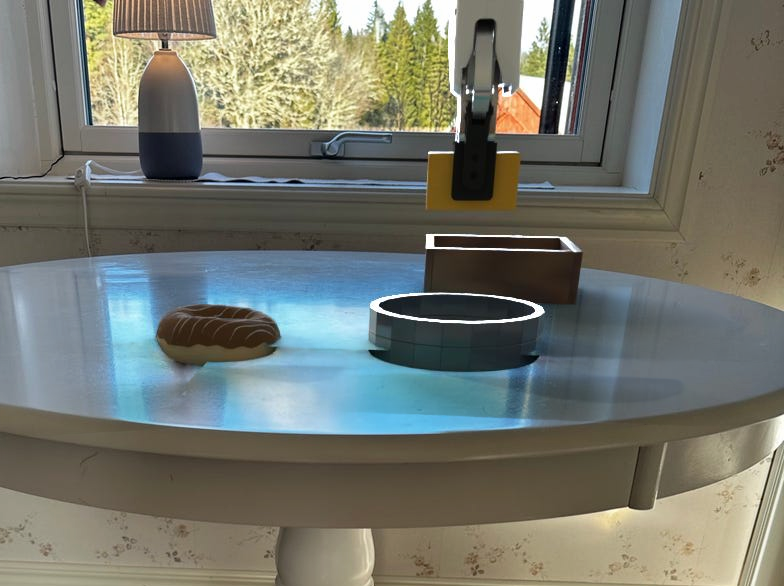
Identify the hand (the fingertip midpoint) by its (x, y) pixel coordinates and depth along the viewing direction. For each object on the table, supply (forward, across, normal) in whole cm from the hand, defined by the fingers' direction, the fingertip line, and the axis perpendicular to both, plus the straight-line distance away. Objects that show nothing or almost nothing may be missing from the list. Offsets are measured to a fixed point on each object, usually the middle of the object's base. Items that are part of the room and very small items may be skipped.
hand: (470, 195), depth 76 cm
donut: (+13, -2, +21) cm, 24 cm away
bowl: (+13, -1, +1) cm, 13 cm away
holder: (+13, +26, -4) cm, 30 cm away
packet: (+1, 0, 0) cm, 1 cm away
